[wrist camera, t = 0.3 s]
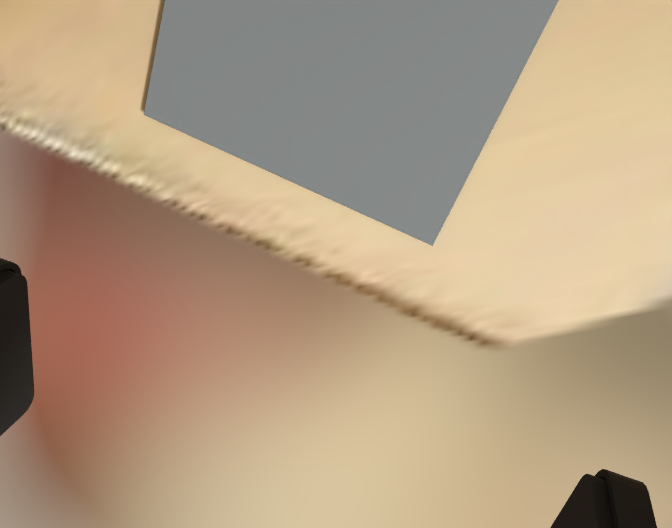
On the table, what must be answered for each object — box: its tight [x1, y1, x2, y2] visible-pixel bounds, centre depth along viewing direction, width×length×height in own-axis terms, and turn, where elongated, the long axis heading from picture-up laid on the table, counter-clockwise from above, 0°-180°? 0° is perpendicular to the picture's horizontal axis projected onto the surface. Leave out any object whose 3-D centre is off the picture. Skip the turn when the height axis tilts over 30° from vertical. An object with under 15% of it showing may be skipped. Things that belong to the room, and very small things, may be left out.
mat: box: [144, 0, 558, 246], centre depth 37 cm, size 19×22×1 cm
